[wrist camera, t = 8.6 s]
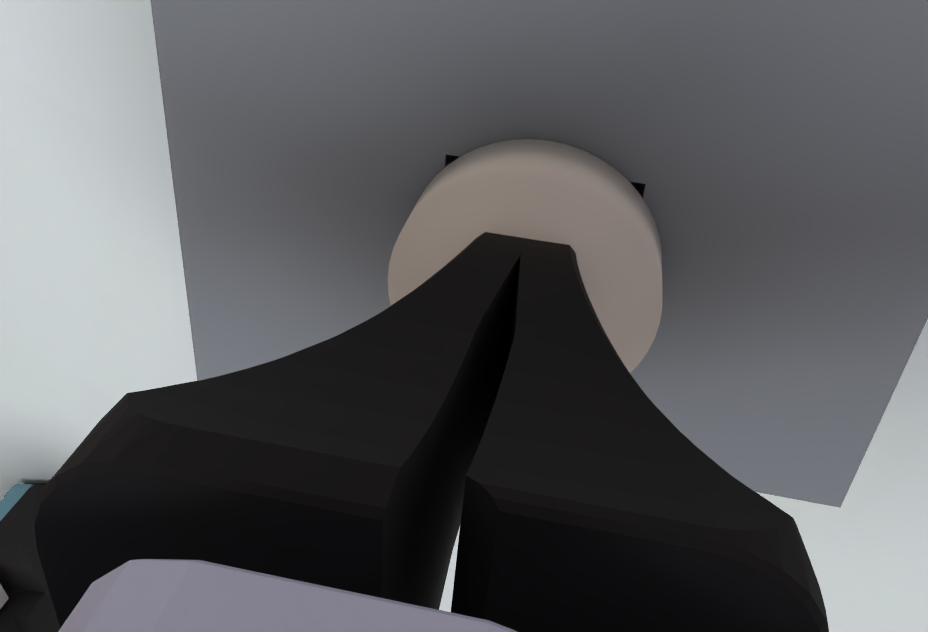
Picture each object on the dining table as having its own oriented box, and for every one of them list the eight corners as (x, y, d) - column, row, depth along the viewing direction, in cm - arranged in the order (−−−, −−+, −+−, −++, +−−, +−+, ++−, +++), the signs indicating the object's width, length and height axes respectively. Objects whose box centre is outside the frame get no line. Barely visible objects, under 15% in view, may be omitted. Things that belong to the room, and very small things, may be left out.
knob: (684, 113, 14) (691, 196, 11) (636, 319, 16) (632, 429, 13) (441, 80, 14) (391, 151, 11) (427, 284, 16) (383, 384, 14)
